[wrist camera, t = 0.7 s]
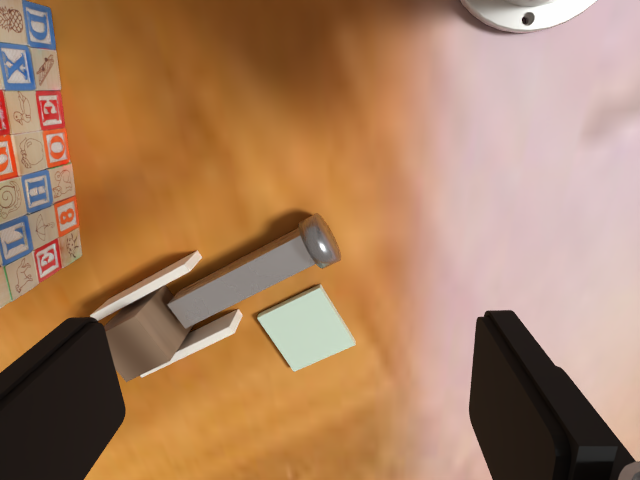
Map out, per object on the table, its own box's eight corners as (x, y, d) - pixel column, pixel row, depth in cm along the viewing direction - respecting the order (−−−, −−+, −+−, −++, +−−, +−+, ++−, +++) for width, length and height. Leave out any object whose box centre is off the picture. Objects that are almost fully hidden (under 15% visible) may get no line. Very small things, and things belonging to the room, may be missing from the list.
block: (164, 284, 40) (134, 316, 34) (194, 323, 41) (170, 360, 36) (125, 305, 41) (90, 339, 35) (155, 343, 42) (126, 381, 37)
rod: (317, 207, 36) (313, 222, 32) (341, 248, 37) (340, 268, 33) (174, 283, 39) (154, 306, 35) (201, 318, 40) (184, 344, 36)
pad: (320, 283, 39) (319, 287, 38) (355, 340, 40) (355, 344, 40) (258, 313, 40) (256, 317, 39) (294, 366, 42) (293, 371, 41)
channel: (197, 250, 38) (184, 263, 35) (242, 315, 40) (234, 333, 37) (108, 298, 41) (89, 315, 38) (156, 357, 43) (141, 377, 40)
